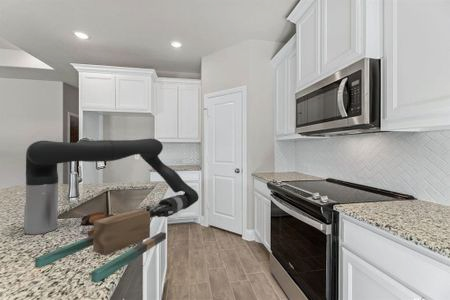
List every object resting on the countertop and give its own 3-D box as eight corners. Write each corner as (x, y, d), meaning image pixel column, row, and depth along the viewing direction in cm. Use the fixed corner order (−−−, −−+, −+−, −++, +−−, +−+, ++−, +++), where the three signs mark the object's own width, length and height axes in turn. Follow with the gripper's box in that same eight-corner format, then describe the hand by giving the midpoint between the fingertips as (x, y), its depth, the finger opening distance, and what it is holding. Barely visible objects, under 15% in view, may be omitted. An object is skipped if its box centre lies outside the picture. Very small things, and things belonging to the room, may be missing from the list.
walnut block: (93, 251, 66) (93, 220, 66) (138, 234, 80) (138, 209, 80) (105, 256, 63) (105, 224, 63) (149, 237, 77) (150, 211, 77)
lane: (35, 265, 57) (35, 258, 57) (117, 231, 82) (117, 225, 82) (97, 282, 50) (98, 273, 50) (165, 238, 76) (165, 232, 76)
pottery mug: (78, 240, 74) (75, 217, 77) (86, 243, 82) (83, 221, 85) (117, 227, 79) (112, 205, 82) (121, 231, 87) (116, 211, 90)
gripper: (158, 196, 100) (130, 204, 83) (184, 198, 96) (160, 207, 79) (157, 212, 100) (130, 224, 83) (183, 215, 96) (160, 228, 79)
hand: (145, 216), depth 81 cm, fingers closed
